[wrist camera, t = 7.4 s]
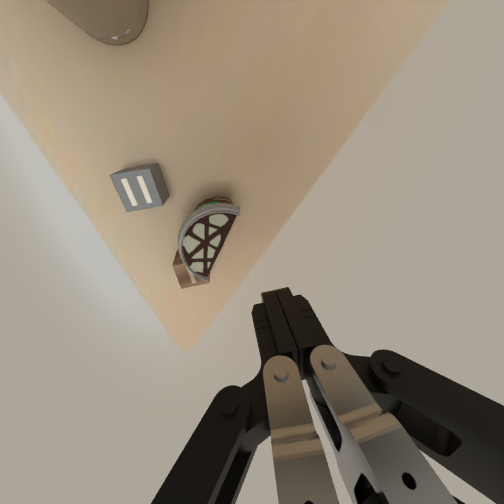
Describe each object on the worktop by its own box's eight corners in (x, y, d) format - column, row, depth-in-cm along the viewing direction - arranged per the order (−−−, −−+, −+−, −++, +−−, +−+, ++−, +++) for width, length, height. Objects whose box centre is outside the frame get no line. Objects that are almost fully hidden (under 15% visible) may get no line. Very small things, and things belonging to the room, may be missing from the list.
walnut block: (176, 250, 39) (172, 266, 34) (203, 245, 39) (202, 260, 35) (184, 272, 41) (181, 289, 37) (209, 267, 42) (209, 283, 37)
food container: (199, 175, 33) (193, 191, 24) (234, 192, 35) (241, 211, 26) (175, 240, 37) (164, 272, 29) (208, 251, 40) (206, 284, 31)
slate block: (123, 169, 31) (108, 175, 26) (158, 163, 31) (148, 168, 27) (138, 201, 33) (126, 212, 29) (169, 196, 34) (162, 206, 29)
